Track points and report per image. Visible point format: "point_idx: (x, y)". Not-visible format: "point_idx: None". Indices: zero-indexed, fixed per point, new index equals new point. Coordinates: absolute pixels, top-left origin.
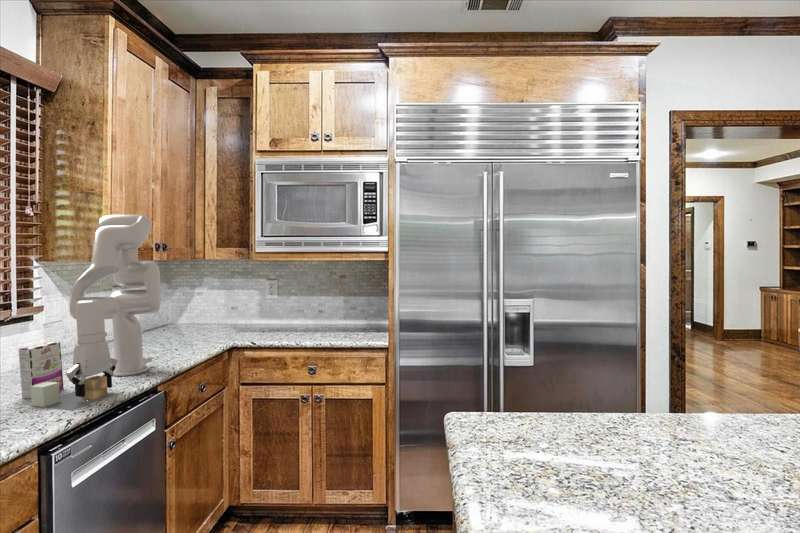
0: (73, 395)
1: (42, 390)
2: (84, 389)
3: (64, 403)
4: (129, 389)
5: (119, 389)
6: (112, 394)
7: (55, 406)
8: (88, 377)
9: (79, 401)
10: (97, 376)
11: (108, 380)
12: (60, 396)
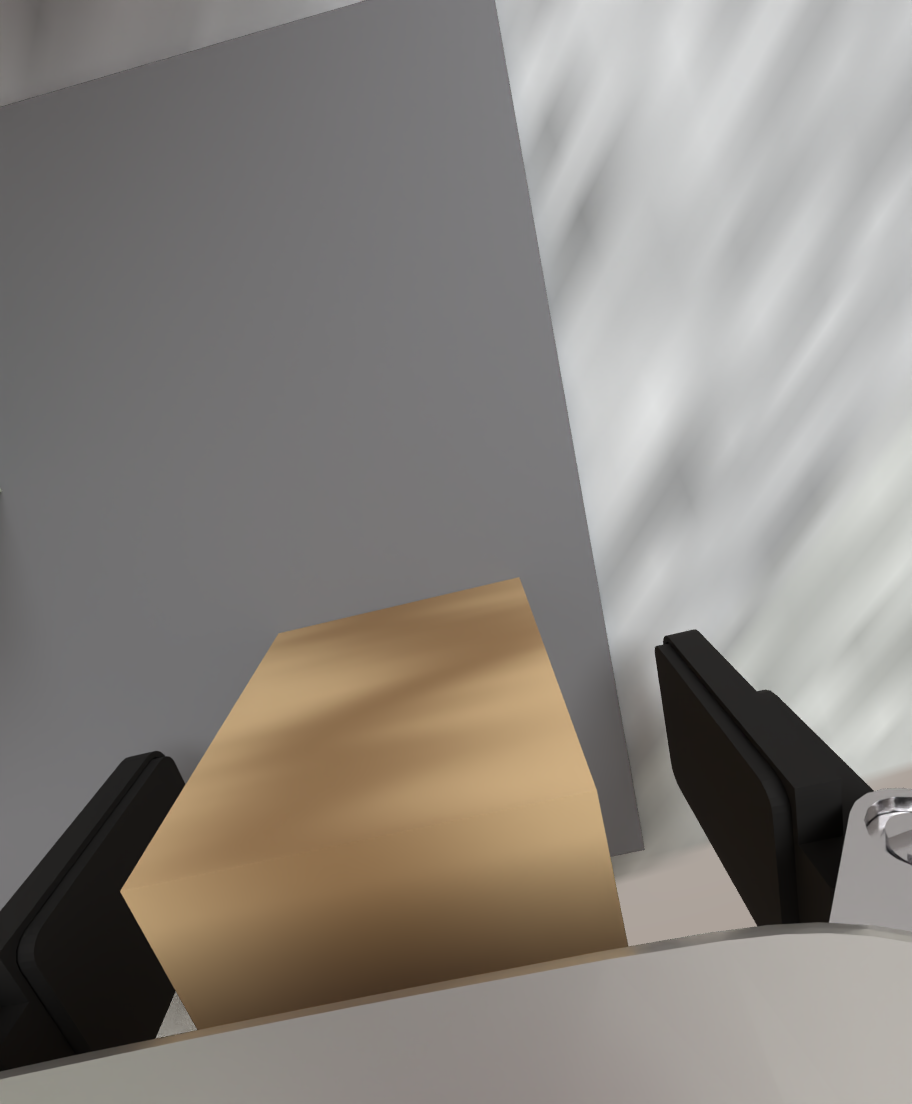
0: (275, 314)
1: None
2: (168, 988)
3: (28, 654)
4: (880, 755)
5: (841, 631)
6: (606, 811)
7: None
8: (377, 841)
9: (204, 740)
10: (568, 942)
11: (731, 858)
12: (94, 116)
